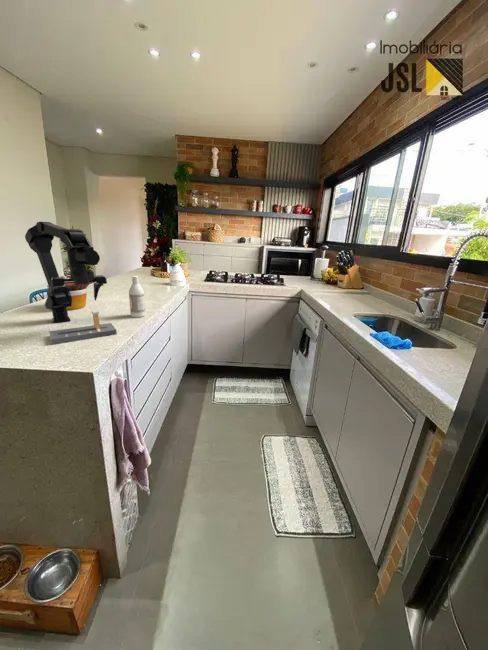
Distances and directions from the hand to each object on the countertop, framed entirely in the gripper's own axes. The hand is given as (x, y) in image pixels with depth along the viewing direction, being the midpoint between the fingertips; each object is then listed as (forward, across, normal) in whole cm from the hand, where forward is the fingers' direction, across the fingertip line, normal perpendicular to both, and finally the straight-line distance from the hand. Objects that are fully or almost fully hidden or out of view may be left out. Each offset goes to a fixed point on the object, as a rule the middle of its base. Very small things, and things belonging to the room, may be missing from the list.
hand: (82, 301), depth 110 cm
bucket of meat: (+12, -1, +39) cm, 41 cm away
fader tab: (+9, +3, -8) cm, 13 cm away
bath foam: (+12, +24, +9) cm, 28 cm away
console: (+12, -2, -8) cm, 15 cm away
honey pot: (+12, +77, +82) cm, 113 cm away
